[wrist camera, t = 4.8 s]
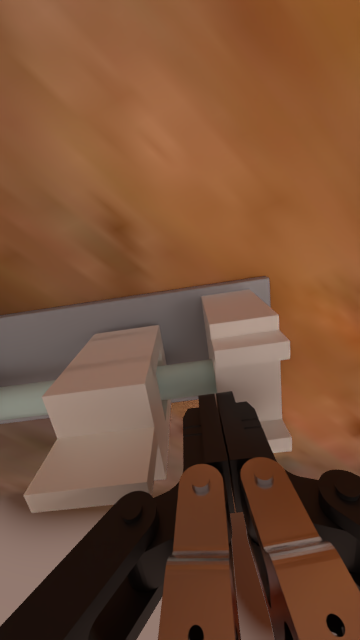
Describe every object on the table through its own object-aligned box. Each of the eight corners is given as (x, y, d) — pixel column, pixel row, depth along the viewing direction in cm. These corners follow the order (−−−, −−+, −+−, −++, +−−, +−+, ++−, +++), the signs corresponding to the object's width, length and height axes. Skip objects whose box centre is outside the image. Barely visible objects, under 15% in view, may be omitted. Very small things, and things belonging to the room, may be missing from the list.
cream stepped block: (159, 324, 16) (133, 430, 7) (171, 392, 17) (162, 541, 9) (94, 333, 16) (0, 446, 8) (112, 399, 18) (50, 552, 9)
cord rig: (265, 276, 17) (323, 307, 10) (270, 383, 19) (318, 467, 12) (-113, 332, 18) (-290, 393, 11) (-62, 425, 21) (-181, 521, 14)
